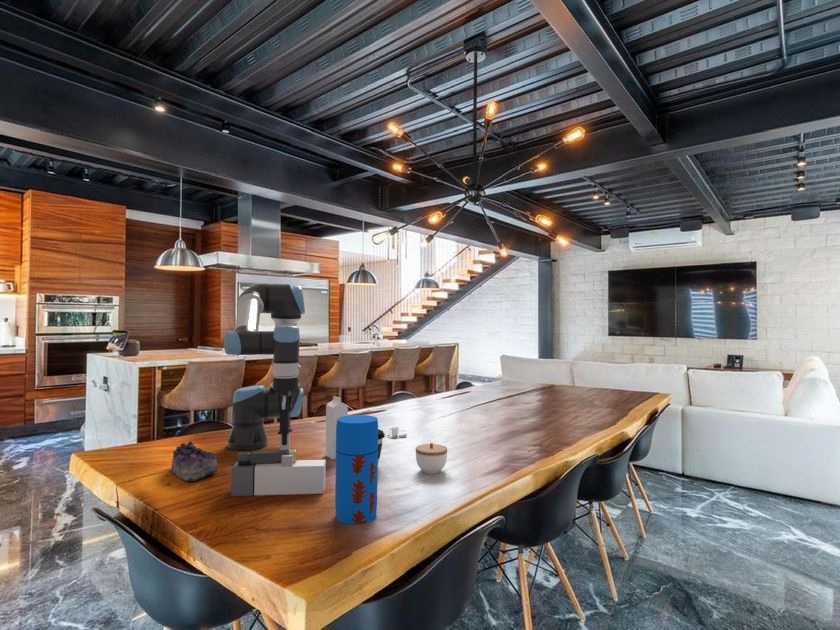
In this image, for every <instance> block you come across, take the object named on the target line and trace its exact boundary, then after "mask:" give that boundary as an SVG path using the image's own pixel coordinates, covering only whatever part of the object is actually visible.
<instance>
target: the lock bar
mask: <svg viewBox="0 0 840 630" xmlns="http://www.w3.org/2000/svg"><path fill="white" fill-rule="evenodd" d="M282 455H293V462H296V460H297V448H293V449H291V448H289V450H280V449H277V450H276V449H275V450H273V449H272V450H260V451H259V450H258V451H257V450H256V451H255V450H254V451H250V450H242V451H240V452H237V461H238V465H250V464H263V463H280V462H282Z"/></svg>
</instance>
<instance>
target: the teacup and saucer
mask: <svg viewBox="0 0 840 630" xmlns="http://www.w3.org/2000/svg"><path fill="white" fill-rule="evenodd" d="M399 429H400V428H399V427H398V426H397V427H396V426H392V427H391V428H389V429H388V432H389V434H391V435H390V436H392V437H393V436H394V437H393V438H397V437H398V438H400V437H403V438H404V437H407V436H408V434H407V432H401V433H399V431H400V430H399ZM390 430H391V431H390ZM398 434H399V435H398ZM396 436H397V437H396Z"/></svg>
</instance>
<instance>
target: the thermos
mask: <svg viewBox="0 0 840 630" xmlns="http://www.w3.org/2000/svg"><path fill="white" fill-rule="evenodd" d="M378 429H379V421H378V417H376V416H373V415H367V414H351V415H350V414H348V416H343V417H340V418H338V419H337V425H336V459H335V481H334V482H335V483H334V484H335V485H334V486H335V487H334V488H335V489H334V491H335V492H334V493H335V495H334V497H335V501H334V503H335V504H334V506H335V507H334V508H335V519H336V520H337V521H338V522H340V523H342V524H346V525H362V524H366V523H370V522H371V521H374V519H376V517H377V511H378V510H377V509H378V508H377V507H378V476H379V475H378V470H379V469H378V468H379V467H378V466H379V463H378Z"/></svg>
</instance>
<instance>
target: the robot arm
mask: <svg viewBox="0 0 840 630" xmlns="http://www.w3.org/2000/svg"><path fill="white" fill-rule="evenodd" d="M305 307H306V306H305V299H304V294H303V288H302V286H300V285H298V284H291V283H289V284H286V283H285V284H284V283H281V284H279V283H258V284H255V285H252V286H249V287H248V288H246V289H244V290H243V292H241V293H240V295H239V296H238V298H237V300H236V309H237V314H236V320H235V323H234V328H233V330H227V331H226V332H225V333H224V340H223V341H224V342H223V343H224V353H225V354H226V355H228V356H229V355H230V356H255V355H256V356H257V355H262V356H263V355H265V356H268V355H269V356H270V355H271V356H272V355H273V361H272V376H273V378H272V382H271V383H270V384H269V388H266V387H265V385H262V384H261V385H260V384H259V385H250V386H245V387H241V388H237V389H236V390H235V391H233V397H232V406H233V407H232V428H231V431H230V435H229V437H228V439H227V448H228V449H229V450H232V451H233V450H234V451H250V450H252V451H253V450H257V449H261V448H265V447H267V446H268V444H269V437H268V434H267V431H266V427H265V424H264V423H265V422H264V420H265V419H276V418H277V419H279V430H278V431H277V435H279V450H290V445H291V444H290V441H291V440H290V439H291V438H290V437H291V436H290V435H291V433H292V432H293V429H291V418H294V417H298V416H299V415H300V414H301V411H302V405H303V398H304V397H303V395H304V389H303V388H302V387H300V386H301V385H300V383H299V381H300V379H299V374H300V373H299V372H300V370H301V369H302V366H301V365H300V363H299V362H300V339H301V335H300V327H299V326H298V322H299V321H300V320H302V315H305V313H306V309H305ZM261 314H270V318H271V320H272V321H273V322H274V329H273V330H271V331H270V330H269V331H268V330H267V331H266V330H265V331H264V330H259V329H260V328H259V326H260V318H261Z"/></svg>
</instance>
